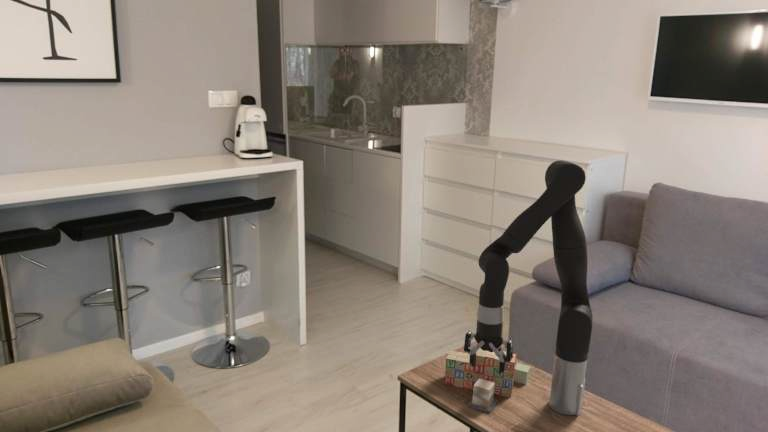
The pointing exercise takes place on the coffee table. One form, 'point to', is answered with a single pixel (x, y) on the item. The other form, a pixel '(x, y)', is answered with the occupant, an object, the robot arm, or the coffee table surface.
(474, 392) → the cream block
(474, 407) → the charcoal pad
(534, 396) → the coffee table surface
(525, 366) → the sage green block
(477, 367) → the stack of blocks
